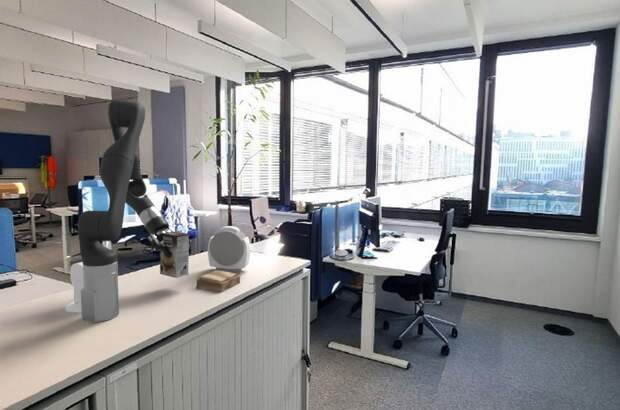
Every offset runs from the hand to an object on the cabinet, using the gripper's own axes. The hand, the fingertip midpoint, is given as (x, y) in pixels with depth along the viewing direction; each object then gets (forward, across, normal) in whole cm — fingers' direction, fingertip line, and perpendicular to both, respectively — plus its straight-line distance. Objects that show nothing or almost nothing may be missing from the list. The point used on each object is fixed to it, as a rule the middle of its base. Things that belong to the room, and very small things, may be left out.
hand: (177, 254), depth 136 cm
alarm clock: (+11, +29, +8) cm, 32 cm away
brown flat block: (+17, +11, +2) cm, 21 cm away
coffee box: (+5, 0, +7) cm, 8 cm away
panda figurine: (-1, -25, +21) cm, 33 cm away
